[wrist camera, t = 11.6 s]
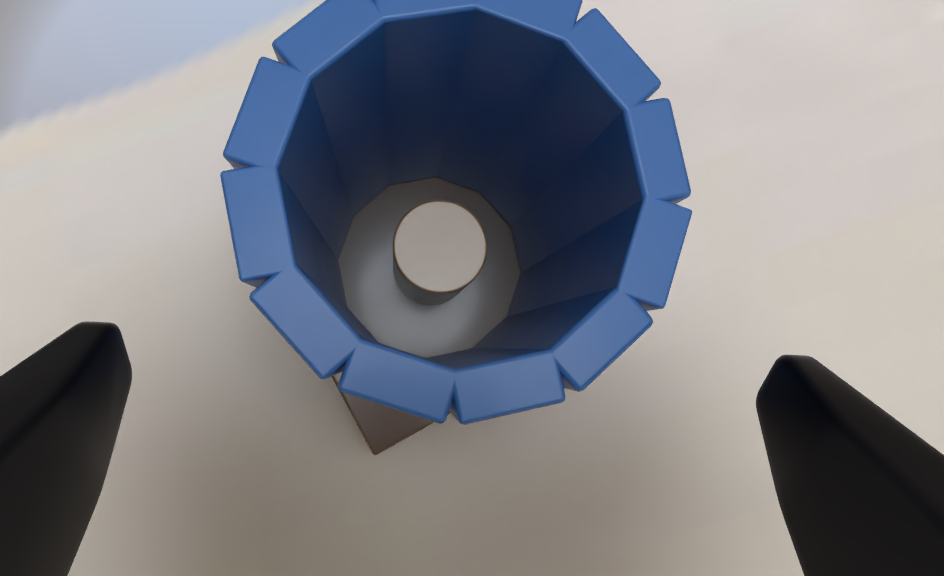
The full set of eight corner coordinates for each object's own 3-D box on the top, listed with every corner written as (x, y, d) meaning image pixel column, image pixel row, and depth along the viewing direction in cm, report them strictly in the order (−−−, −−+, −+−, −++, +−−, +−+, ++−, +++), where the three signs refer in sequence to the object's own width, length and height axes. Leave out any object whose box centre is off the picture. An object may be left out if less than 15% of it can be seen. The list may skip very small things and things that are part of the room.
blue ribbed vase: (565, 355, 20) (734, 364, 10) (337, 405, 19) (273, 468, 9) (517, 136, 20) (634, -66, 10) (293, 174, 19) (186, -5, 9)
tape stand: (598, 324, 21) (668, 316, 16) (375, 450, 20) (367, 488, 15) (478, 106, 21) (507, 24, 16) (251, 219, 20) (198, 171, 15)
